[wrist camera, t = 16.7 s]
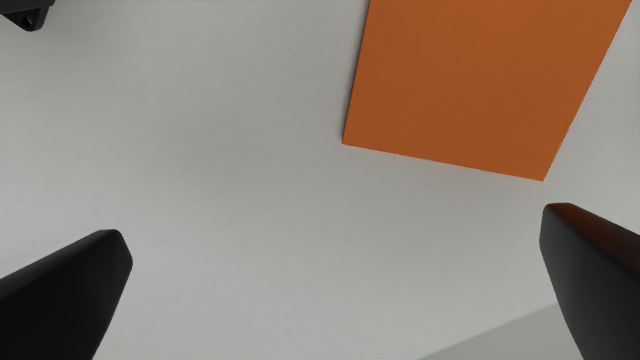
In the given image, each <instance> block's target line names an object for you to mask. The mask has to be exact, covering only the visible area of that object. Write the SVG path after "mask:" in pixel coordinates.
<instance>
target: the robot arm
mask: <svg viewBox="0 0 640 360" xmlns="http://www.w3.org/2000/svg"><path fill="white" fill-rule="evenodd" d="M54 2H55V0H0V14H1V15H3V16H4V17H6V18H7V19H9V20H10V21H12V22H13V23H15V24H16V25H18V26H19V27H21V28H22V29H24V30H26V31H31V32H32V31H36V30H39V29H41V27H42V26H43V23H44V20H45V17H46V15H47V12H48V9H49V6H52V5H54ZM27 15H28V16H29V17H30V18H31V21H32V24H31V23H30V22H29V21H28V19H27ZM539 244H540V250H541V253H542V256H543V259H544V262H545V265H546V268H547V271H548V273H549V276H550V279H551V282H552V285H553V288H554V291H555V294H556V297H557V300H558V302H559V305H560V308H561V311H562V314H563V316H564V319H565V321H566V323H567V326H568V328H569V330H570V332H571V334H572V337H573V338H574V341H575V343H576V345H577V347H578V349H579V351H580V353H581V355H582V357H583V359H584V360H640V235H638V234H636V233H634V232H632V231H630V230H627V229H625V228H623V227H621V226H619V225H617V224H614V223H612V222H610V221H608V220H606V219H604V218H602V217H599V216H597V215H595V214H593V213H591V212H589V211H587V210H584V209H582V208H580V207H578V206H576V205H574V204H571V203H552V204H547V205H546V206H545V208H544V210H543V216H542V223H541V231H540V239H539ZM132 266H133V260H132V256H131V254H130V251H129V249H128V247H127V245H126V243H125V241H124V238H123V236H122V234H121V233H120V232H119V231H118V230H116V229H109V230H99V231H96V232H94V233H92V234H90V235H88V236H86V237H84V238H82V239H80V240H78V241H76V242H74V243H72V244H70V245H68V246H66V247H64V248H62V249H60V250H58V251H56V252H54V253H52V254H50V255H48V256H46V257H44V258H42V259H40V260H38V261H36V262H34V263H32V264H30V265H28V266H26V267H24V268H22V269H20V270H18V271H16V272H14V273H12V274H9V275H7V276H5V277H3V278H1V279H0V360H92V359H93V357H94V355H95V353H96V351H97V349H98V347H99V345H100V343H101V341H102V339H103V337H104V335H105V333H106V331H107V329H108V327H109V324H110V322H111V320H112V317H113V315H114V312H115V310H116V307H117V305H118V302H119V300H120V297H121V295H122V292H123V290H124V287H125V285H126V282H127V280H128V277H129V275H130V272H131V270H132Z"/></svg>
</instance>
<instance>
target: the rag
mask: <svg viewBox="0 0 640 360" xmlns="http://www.w3.org/2000/svg"><path fill="white" fill-rule="evenodd" d="M631 1H632V0H370V3H369V8H368V13H367V18H366V23H365V28H364V33H363V38H362V43H361V48H360V53H359V59H358V64H357V69H356V74H355V79H354V84H353V89H352V94H351V99H350V104H349V109H348V114H347V119H346V124H345V130H344V135H343V140H342V144H346V145H351V146H356V147H362V148H367V149H372V150H378V151H383V152H388V153H394V154H399V155H405V156H410V157H415V158H421V159H426V160H431V161H437V162H442V163H447V164H453V165H458V166H464V167H469V168H474V169H480V170H485V171H490V172H496V173H501V174H506V175H512V176H517V177H523V178H528V179H533V180H539V181H543V180H544V178H545V176H546V174H547V172H548V170H549V168H550V166H551V164H552V162H553V160H554V158H555V155H556V153H557V151H558V149H559V147H560V145H561V143H562V141H563V139H564V137H565V135H566V133H567V131H568V129H569V127H570V125H571V123H572V121H573V119H574V117H575V115H576V113H577V111H578V109H579V107H580V105H581V103H582V101H583V99H584V97H585V95H586V93H587V90H588V88H589V86H590V84H591V82H592V80H593V78H594V76H595V74H596V72H597V70H598V68H599V66H600V64H601V62H602V60H603V58H604V56H605V54H606V52H607V50H608V48H609V46H610V44H611V42H612V40H613V38H614V36H615V34H616V32H617V30H618V28H619V25H620V23H621V21H622V19H623V17H624V15H625V13H626V11H627V9H628V7H629V5H630V3H631Z"/></svg>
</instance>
